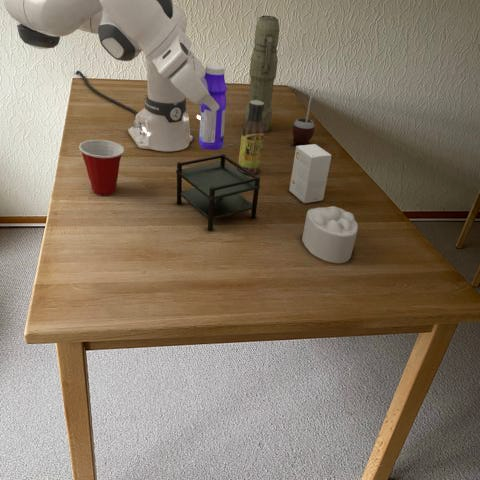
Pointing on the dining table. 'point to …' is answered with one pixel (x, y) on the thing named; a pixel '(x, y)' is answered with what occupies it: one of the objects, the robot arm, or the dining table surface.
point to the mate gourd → (303, 129)
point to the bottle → (210, 120)
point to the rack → (217, 188)
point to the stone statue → (264, 66)
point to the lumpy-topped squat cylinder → (330, 233)
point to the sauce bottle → (252, 138)
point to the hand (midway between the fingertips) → (216, 102)
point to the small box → (310, 173)
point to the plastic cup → (102, 164)
